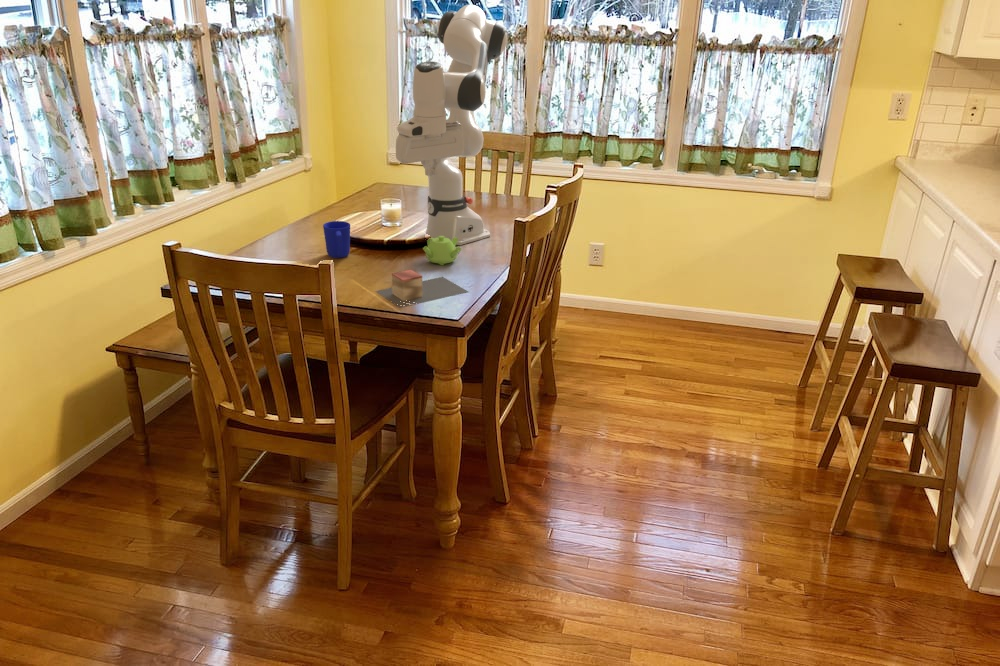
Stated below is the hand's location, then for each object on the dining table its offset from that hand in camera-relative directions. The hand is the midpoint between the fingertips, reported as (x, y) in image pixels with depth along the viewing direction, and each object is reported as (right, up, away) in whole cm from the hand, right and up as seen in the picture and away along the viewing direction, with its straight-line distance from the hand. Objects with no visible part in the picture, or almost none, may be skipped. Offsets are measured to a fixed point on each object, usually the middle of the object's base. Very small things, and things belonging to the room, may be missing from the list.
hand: (431, 174), depth 225 cm
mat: (-2, -33, -1) cm, 33 cm away
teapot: (+2, -23, +22) cm, 32 cm away
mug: (-31, -21, +24) cm, 44 cm away
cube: (-6, -28, -6) cm, 30 cm away
